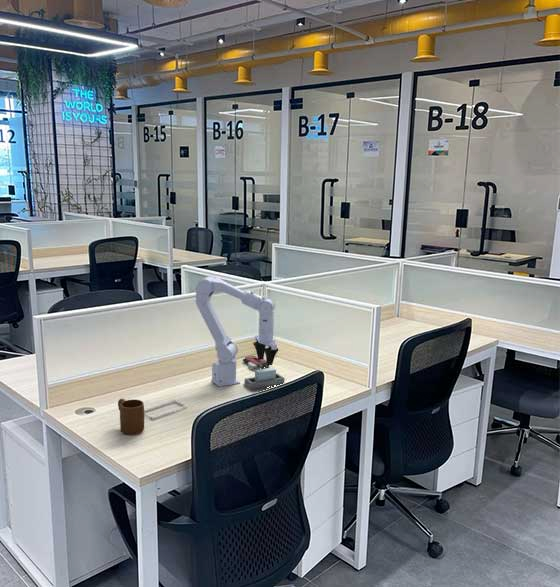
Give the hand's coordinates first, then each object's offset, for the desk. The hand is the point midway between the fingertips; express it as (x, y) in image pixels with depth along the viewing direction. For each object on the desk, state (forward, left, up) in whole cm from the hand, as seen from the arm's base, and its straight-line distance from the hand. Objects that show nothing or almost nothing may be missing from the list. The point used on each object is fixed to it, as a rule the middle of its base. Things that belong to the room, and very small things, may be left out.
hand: (265, 362), depth 224 cm
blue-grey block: (0, 0, -9) cm, 9 cm away
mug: (-59, -16, -10) cm, 62 cm away
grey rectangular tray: (0, 0, -10) cm, 10 cm away
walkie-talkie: (+8, +21, -10) cm, 24 cm away
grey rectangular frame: (-44, -7, -11) cm, 46 cm away
